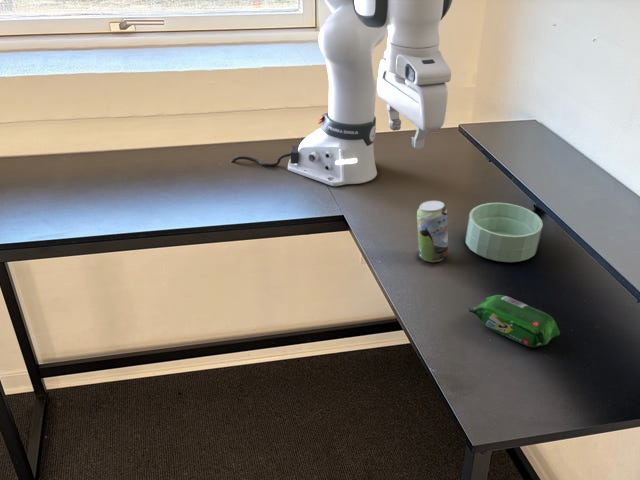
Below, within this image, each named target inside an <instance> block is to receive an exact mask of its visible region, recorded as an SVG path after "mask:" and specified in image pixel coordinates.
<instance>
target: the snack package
mask: <svg viewBox="0 0 640 480" xmlns="http://www.w3.org/2000/svg"><path fill="white" fill-rule="evenodd" d="M468 312H469V313H471V314H474V315H475V316H477V318H478V319H479V320H480V322H481V323H482V325H484V326H485V327H486V328H488V329H489V330H490V331H493V332H495V333H496V334H498V335H501V336H503V337H505V338H507V339H510V340H511V341H514V342H517V343H518V344H521V345H523V346H526V347H529V348H538V347H543V346H547V345H548V344H549V342H550V341H551V340H552V339H554V338H556V337H558V336H560V334H561V331H560V330H559V327H558V325H557V322H556V320H555V319H554V318H553V317H552V316H551V315H550V314H548V313H546V312H544V311H543V310H541V309H537V308H535V307H533V306H530V305H528V304H526V303H524V302H522V301H519V300H517V299H514V298H512V297H511V296H507V295H503V294H495V295H492V296H487V297H485V298H484V299H483V301H482V302H480V304H478V305H476V306H473V307H472V308H468Z"/></svg>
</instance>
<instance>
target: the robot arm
mask: <svg viewBox="0 0 640 480" xmlns="http://www.w3.org/2000/svg"><path fill="white" fill-rule="evenodd" d="M323 1H324V2H325V4H326V6H327V7H328V8H329V10H330V12H331V13H330V15H328V16H327V18H326V19H325V21H324V23H322V26H321V28H320V30H319V34H318V47H319V49H320V52H321V53H322V56H323V57H324V59H325V66H326V71H327V78H328V109H327V110H326V111H325V112H324V113H323V114H322V115H321V117H320V118H318V122H317V124H318V125H320V124H321V125H320V127H319V128H318V129H316V130H314V131H313V132H312V133H310V134H309V135H307V136H306V137H305V138H303V139H302V140H301V142H300V144H299V145H292V146H291V149H290V152H288V153H284V154H281V155H280V156H279V157H278V158H277V160H276V162H273V163H269V162H268V163H266V162H263V161H262V160H261V159H259V158H254V157H251V156H246V155H239V156H236V157H234V158H232V159H231V160H230V163H235V162H236V161H239V160H246V161H250V162H255V163H258V164H259V165H260V166H263V167H270V168H271V167H276V166H278V165H279V164H280V163H281V161H282V159H284V158H287V157H290V159H289V161H288V163H287V170H288V171H289V172H292V173H295V174H297V175H300V176H303V177H306V178H309V179H311V180H313V181H314V180H315V181H316V182H320V183H323V184H325V185H328V186H331V187H340V186H344V185H357V184H364V183H367V182H369V181H370V182H371V181H372V180H374V179H375V178H376V177H377V175H378V171H377V170H378V169H377V167H376V160H375V149H374V148H375V146H374V145H375V144H374V141H375V138H376V133H377V126H376V125H377V118H376V115H375V114H376V113H375V112H376V99H377V98H376V97H378V98H379V99H381V101H383V102H384V103H386V113H387V116H388V128H389V129H390V130H392V131H394V132H395V131H400V130H401V128H402V127H401V126H402V120H401V119H400V115H401V116H403V117H404V118H405V119H407V120H408V121H409V122H411V123H412V124H414V126H415V127H414V130H415V134H414V136H411V146H412V147H413V148H414V149H415V150H422V149H423V148H424V147H425V142H426V141H425V139H426V138H427V136H428V135H429V133H430V132H435V131H439V130H440V129H442V127H443V125H444V124H445V120H446V114H447V105H448V97H449V96H448V93H449V91H448V86H447V83H449V82H451V79H452V70H451V68H450V66H449V65H448V64H447V62H446V60H445V59H444V57H443V55H442V52H441V50H440V42H441V41H440V33H439V29H440V28H439V27H440V22H441V21H442V20H443V19H444V17H445V16H446V15H447V13H448V12H449V10H450V8H451V6H452V3H453V0H323ZM386 35H387V39H386V49H385V50H384V52H383V58H382V59H381V60H380V62H379V66H378V71H377V80H375V77H374V70H373V59H372V58H373V53H374V49H375V48H376V47H377V46H378V45H380V44H381V43H382V42H383V41H384V39H385V37H386Z"/></svg>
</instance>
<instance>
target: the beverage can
mask: <svg viewBox="0 0 640 480" xmlns="http://www.w3.org/2000/svg"><path fill="white" fill-rule="evenodd" d="M416 221H417V222H416V223H417V244H418V256H419V258H421V259H422V260H424V261H425V262H429V263H436V262H441V261H442V260H444V259H445V258H447V257H448V255H449V231H448V230H449V227H448V225H449V224H448V223H449V222H448V209H447V208H446V206H445V203H444V202H443V201H441V200H425V201H423V202H421V203H420V204H419V207H418V209H417V211H416Z"/></svg>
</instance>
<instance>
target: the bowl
mask: <svg viewBox="0 0 640 480" xmlns="http://www.w3.org/2000/svg"><path fill="white" fill-rule="evenodd" d="M543 228H544V224H543V220H542V219H541V217H540V216H539V215H538V214H537V213H536V212H534V211H532V210H530V209H529V208H526V207H524V206H521V205H517V204H513V203H507V202H487V203H482V204H478V205H477V206H475V207H473V208H472V209H471V210H470V212H469V214H468V221H467V227H466V231H465V244H466V246H467V247H468V249H469V250H470V251H472V252H473V253H475V254H476V255H478V256H480V257H481V258H485V259H488V260H492V261H496V262H503V263H518V262H522V261H526V260H530V259H531V258H532V257H534V256H535V255H536V253H537V251H538V248H539V244H540V240H541V236H542V231H543Z"/></svg>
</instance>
